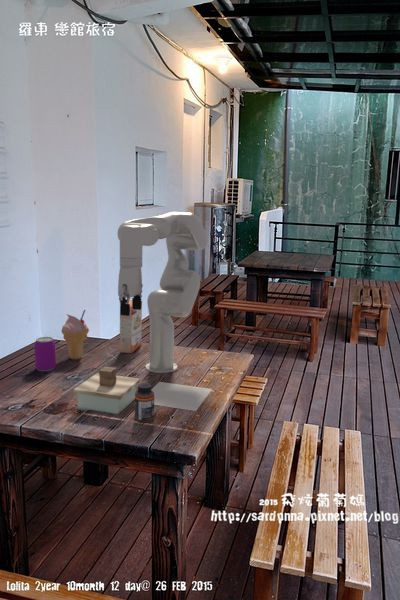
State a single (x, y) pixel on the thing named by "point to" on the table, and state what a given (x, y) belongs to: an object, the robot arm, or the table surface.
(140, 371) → the table surface
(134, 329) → the cracker box
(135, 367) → the table surface
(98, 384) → the cover
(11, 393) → the table surface
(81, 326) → the ice cream cone
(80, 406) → the mint green open box
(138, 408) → the supplement bottle
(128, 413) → the table surface
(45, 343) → the beverage can
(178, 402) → the mat
